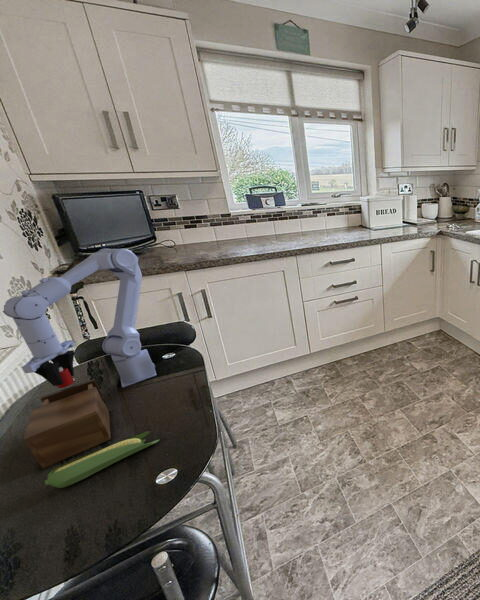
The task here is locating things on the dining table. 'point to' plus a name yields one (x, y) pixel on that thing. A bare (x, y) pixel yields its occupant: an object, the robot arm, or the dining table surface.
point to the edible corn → (95, 461)
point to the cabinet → (67, 427)
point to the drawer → (70, 392)
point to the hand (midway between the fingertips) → (63, 380)
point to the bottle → (65, 377)
